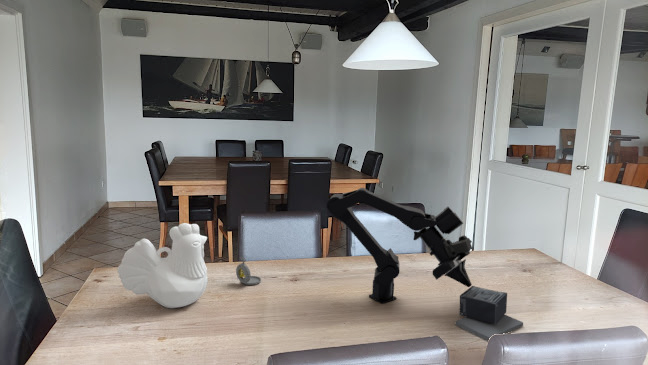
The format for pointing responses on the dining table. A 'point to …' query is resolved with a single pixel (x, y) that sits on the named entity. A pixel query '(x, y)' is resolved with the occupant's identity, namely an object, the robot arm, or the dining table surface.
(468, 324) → the mat
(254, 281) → the pocket watch
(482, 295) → the small box
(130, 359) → the dining table surface
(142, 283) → the decorative rooster
